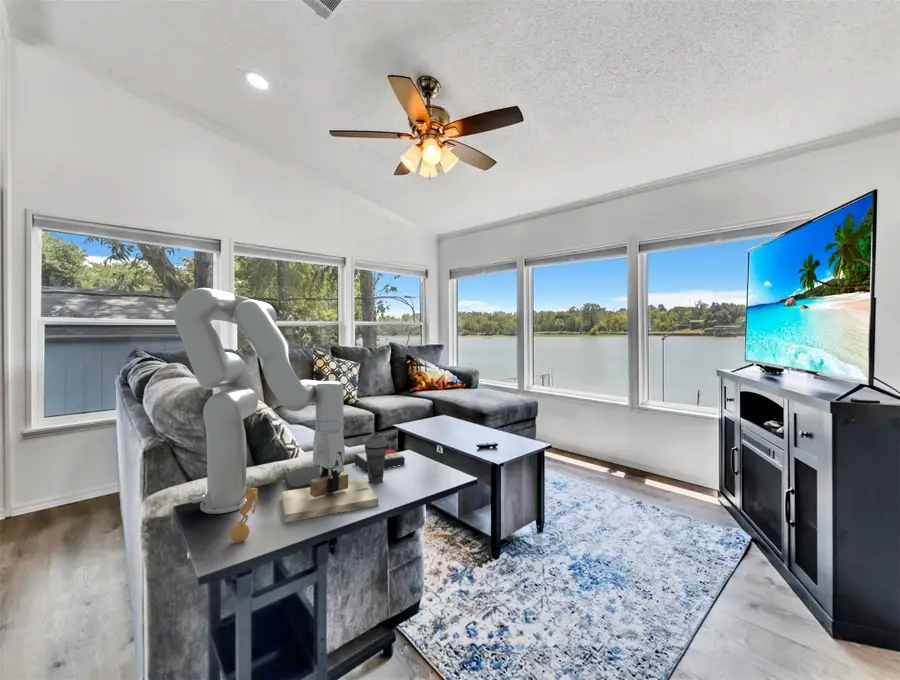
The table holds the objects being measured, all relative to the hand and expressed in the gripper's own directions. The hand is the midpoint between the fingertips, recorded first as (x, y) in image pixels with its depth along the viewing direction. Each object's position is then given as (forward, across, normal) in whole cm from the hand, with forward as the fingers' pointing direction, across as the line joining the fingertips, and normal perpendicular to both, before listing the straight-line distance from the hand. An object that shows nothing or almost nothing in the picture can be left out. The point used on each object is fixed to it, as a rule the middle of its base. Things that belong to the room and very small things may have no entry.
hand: (329, 488), depth 113 cm
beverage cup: (+4, -4, +18) cm, 19 cm away
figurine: (+4, +5, -24) cm, 25 cm away
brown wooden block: (+2, 0, 0) cm, 2 cm away
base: (+4, 0, 0) cm, 4 cm away
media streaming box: (+4, -18, +4) cm, 19 cm away
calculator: (+4, -16, +29) cm, 34 cm away
